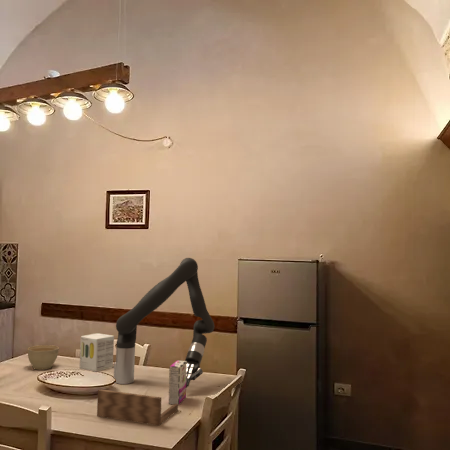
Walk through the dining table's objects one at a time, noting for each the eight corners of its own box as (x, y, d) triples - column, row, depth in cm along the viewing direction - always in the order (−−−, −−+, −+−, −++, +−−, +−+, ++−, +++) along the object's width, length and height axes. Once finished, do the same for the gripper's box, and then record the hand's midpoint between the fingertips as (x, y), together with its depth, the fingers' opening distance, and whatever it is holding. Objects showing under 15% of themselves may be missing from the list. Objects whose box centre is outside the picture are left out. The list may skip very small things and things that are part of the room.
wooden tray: (96, 415, 185) (98, 390, 186) (120, 402, 202) (121, 378, 203) (158, 425, 177) (159, 398, 178) (177, 410, 194) (178, 385, 195)
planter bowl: (51, 372, 247) (52, 351, 248) (21, 371, 247) (22, 350, 248) (62, 364, 263) (63, 345, 264) (34, 363, 263) (35, 344, 264)
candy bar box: (175, 396, 212) (176, 359, 213) (186, 397, 211) (187, 360, 212) (167, 404, 201) (169, 365, 202) (178, 405, 200) (180, 366, 201)
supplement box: (78, 368, 257) (79, 336, 258) (96, 363, 268) (98, 332, 269) (95, 372, 250) (96, 339, 251) (113, 367, 261) (114, 335, 262)
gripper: (180, 348, 226) (169, 380, 214) (206, 351, 222) (196, 384, 210) (184, 357, 231) (173, 389, 218) (209, 360, 227) (200, 392, 214)
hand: (184, 386), depth 214 cm, fingers closed
